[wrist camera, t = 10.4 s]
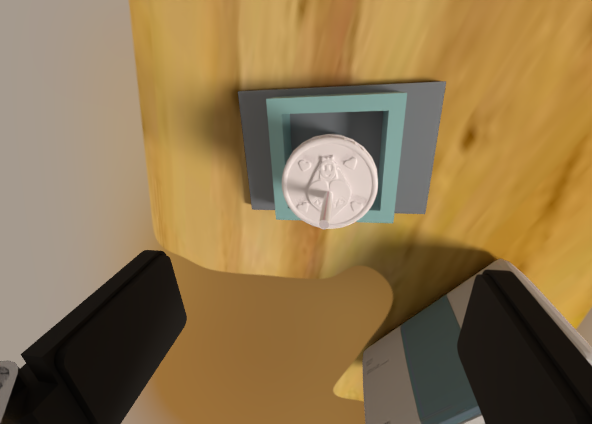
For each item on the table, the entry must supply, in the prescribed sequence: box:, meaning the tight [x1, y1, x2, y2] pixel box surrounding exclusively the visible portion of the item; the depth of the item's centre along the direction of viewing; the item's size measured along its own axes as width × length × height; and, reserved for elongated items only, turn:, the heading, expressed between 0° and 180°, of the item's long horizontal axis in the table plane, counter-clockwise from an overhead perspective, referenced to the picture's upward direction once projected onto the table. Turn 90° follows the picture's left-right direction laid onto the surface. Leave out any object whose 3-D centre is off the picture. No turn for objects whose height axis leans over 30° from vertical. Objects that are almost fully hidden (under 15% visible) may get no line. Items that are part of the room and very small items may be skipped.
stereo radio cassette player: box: [363, 259, 592, 424], centre depth 26 cm, size 21×8×20 cm, turn 143°
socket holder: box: [238, 81, 446, 223], centre depth 26 cm, size 12×18×5 cm, turn 92°
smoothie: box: [282, 133, 378, 229], centre depth 21 cm, size 6×6×14 cm
